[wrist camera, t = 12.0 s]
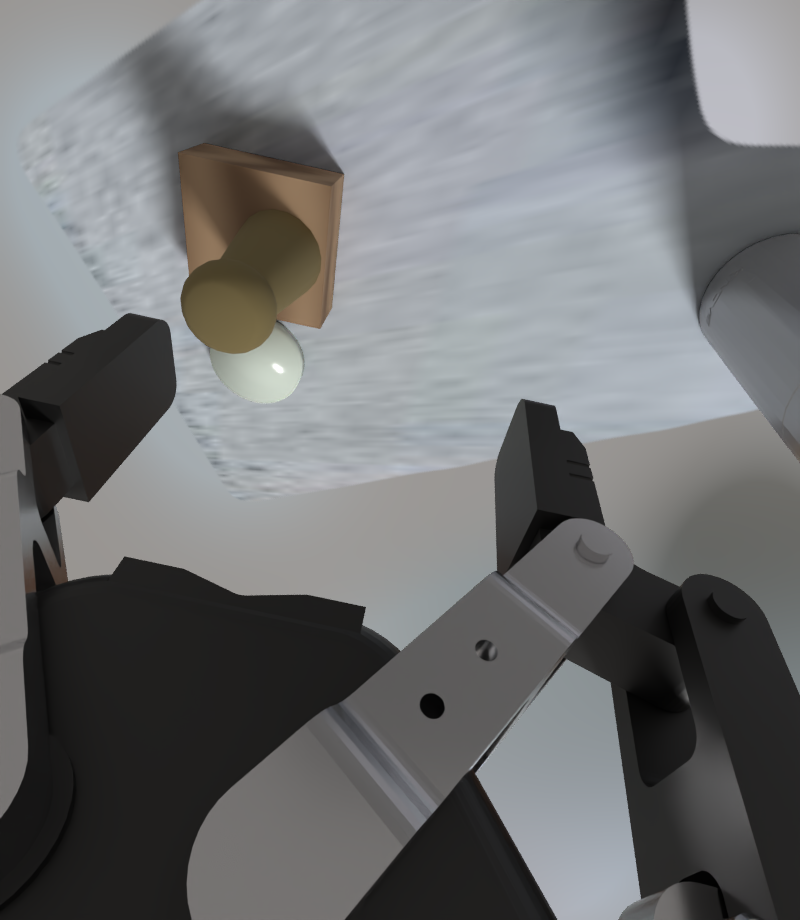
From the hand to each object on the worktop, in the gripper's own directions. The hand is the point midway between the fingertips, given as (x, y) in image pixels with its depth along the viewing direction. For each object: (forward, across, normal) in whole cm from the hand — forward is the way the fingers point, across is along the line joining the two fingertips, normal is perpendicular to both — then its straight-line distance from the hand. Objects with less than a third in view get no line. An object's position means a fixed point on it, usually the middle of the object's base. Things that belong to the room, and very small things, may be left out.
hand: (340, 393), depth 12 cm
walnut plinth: (+30, +11, +7) cm, 33 cm away
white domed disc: (+30, +12, +18) cm, 37 cm away
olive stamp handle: (+26, +9, +7) cm, 29 cm away
